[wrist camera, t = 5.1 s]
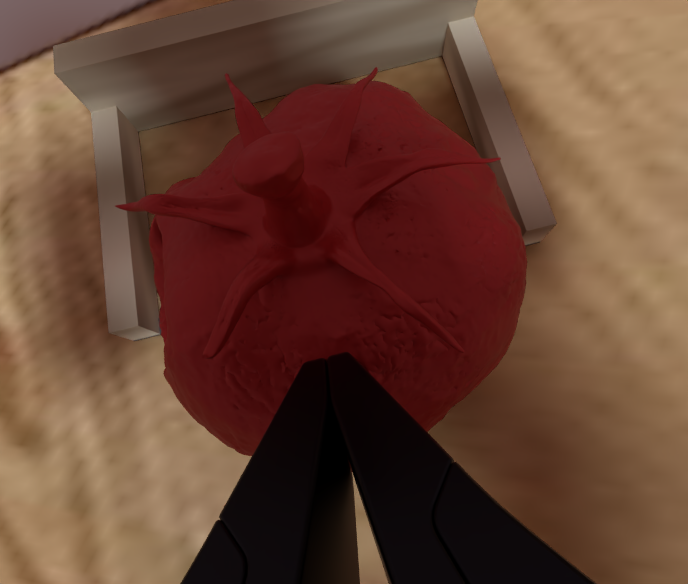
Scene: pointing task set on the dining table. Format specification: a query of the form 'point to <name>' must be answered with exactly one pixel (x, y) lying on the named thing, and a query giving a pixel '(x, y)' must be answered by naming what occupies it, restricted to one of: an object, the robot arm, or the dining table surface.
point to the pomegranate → (334, 258)
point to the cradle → (261, 84)
